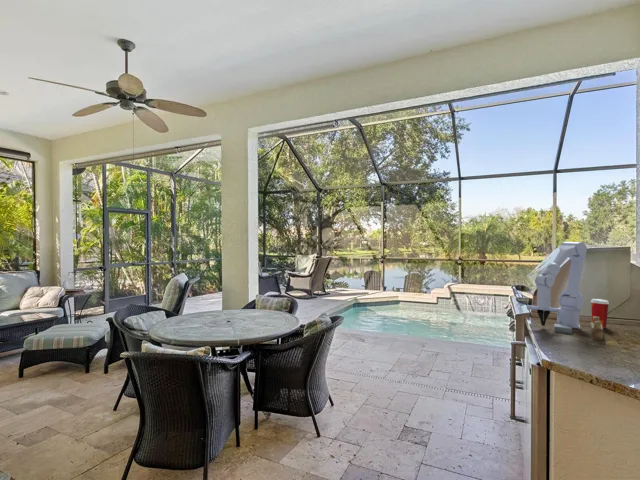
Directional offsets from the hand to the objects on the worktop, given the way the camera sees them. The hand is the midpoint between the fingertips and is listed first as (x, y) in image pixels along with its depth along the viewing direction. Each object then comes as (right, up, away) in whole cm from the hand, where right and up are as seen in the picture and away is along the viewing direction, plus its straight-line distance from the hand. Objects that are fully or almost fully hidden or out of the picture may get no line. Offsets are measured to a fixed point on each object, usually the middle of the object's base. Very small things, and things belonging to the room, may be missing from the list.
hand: (543, 325), depth 177 cm
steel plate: (+7, -2, -5) cm, 8 cm away
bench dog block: (+17, -2, -12) cm, 21 cm away
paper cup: (+32, -2, +5) cm, 33 cm away
